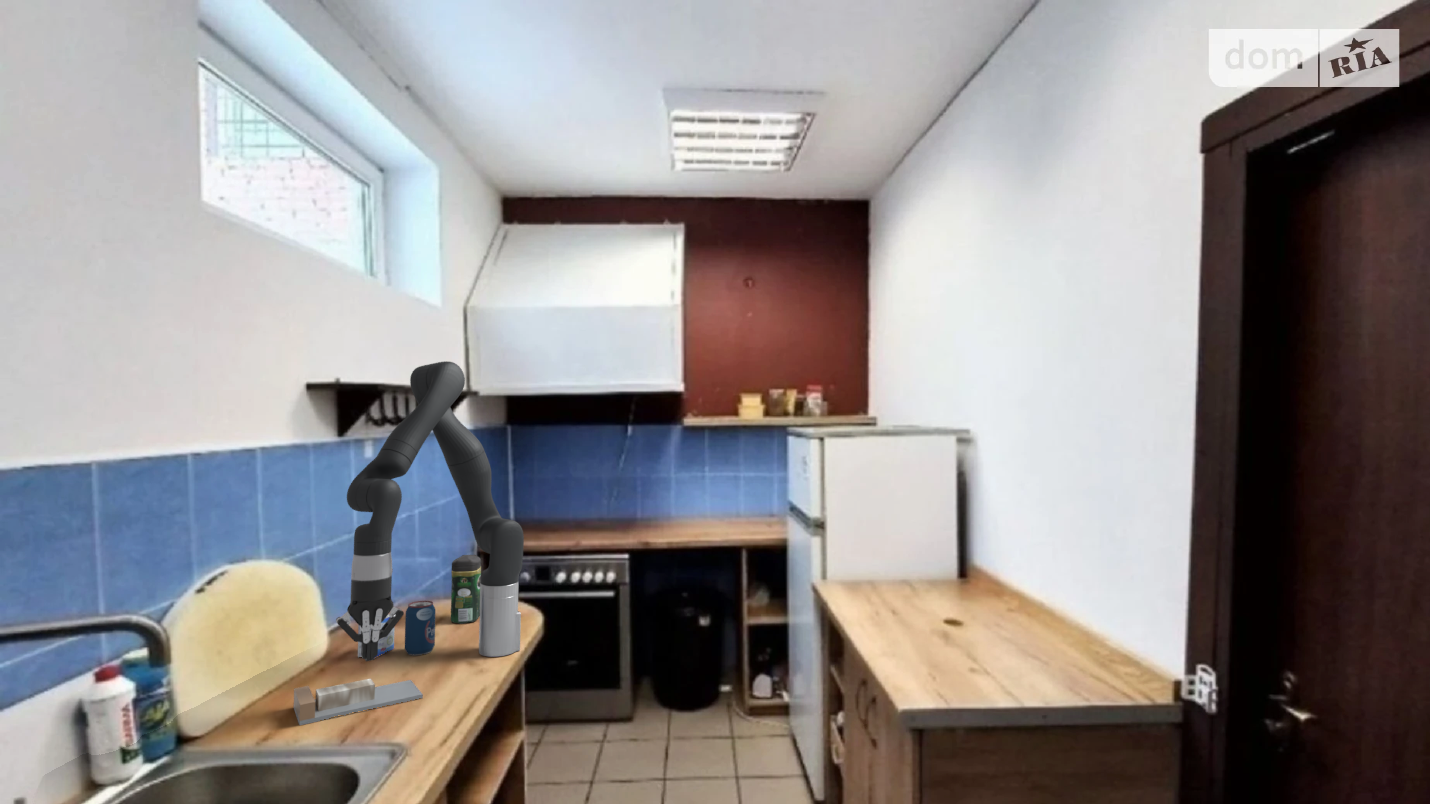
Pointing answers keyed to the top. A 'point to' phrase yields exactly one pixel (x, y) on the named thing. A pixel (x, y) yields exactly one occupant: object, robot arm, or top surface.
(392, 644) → the medicine box
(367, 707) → the underlay board
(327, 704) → the beige long rectangular block
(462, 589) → the coffee jar
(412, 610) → the soda can
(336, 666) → the top surface
